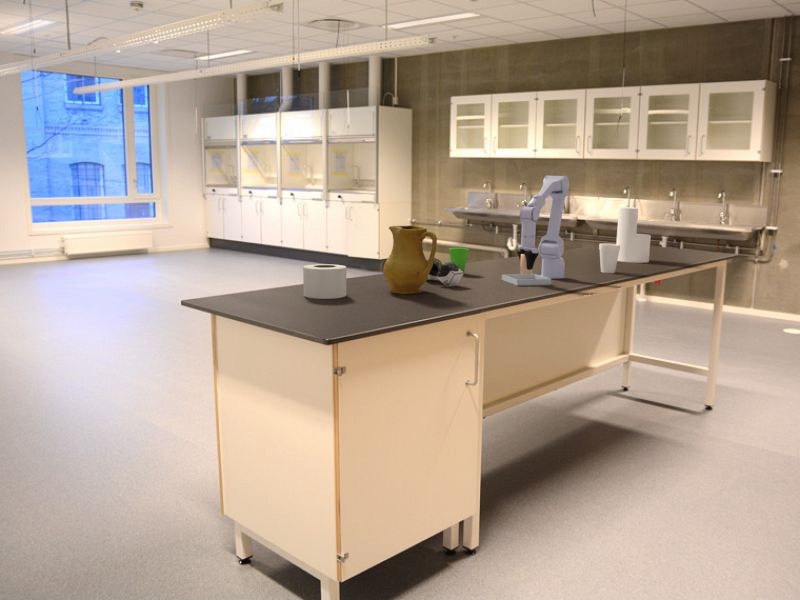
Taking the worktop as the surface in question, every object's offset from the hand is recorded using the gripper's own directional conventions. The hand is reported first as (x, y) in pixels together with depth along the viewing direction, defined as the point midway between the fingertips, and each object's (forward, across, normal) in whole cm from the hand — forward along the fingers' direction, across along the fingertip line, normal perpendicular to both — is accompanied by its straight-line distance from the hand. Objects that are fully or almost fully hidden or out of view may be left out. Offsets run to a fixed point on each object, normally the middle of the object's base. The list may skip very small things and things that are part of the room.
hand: (526, 268), depth 306 cm
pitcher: (+6, +15, -56) cm, 58 cm away
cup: (+6, -30, -19) cm, 36 cm away
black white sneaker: (+6, -4, -36) cm, 37 cm away
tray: (+6, 0, 0) cm, 6 cm away
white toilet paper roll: (+6, +18, -88) cm, 90 cm away
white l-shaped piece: (+6, -65, +93) cm, 114 cm away
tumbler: (+2, 0, 0) cm, 2 cm away
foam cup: (+6, -25, +54) cm, 60 cm away
